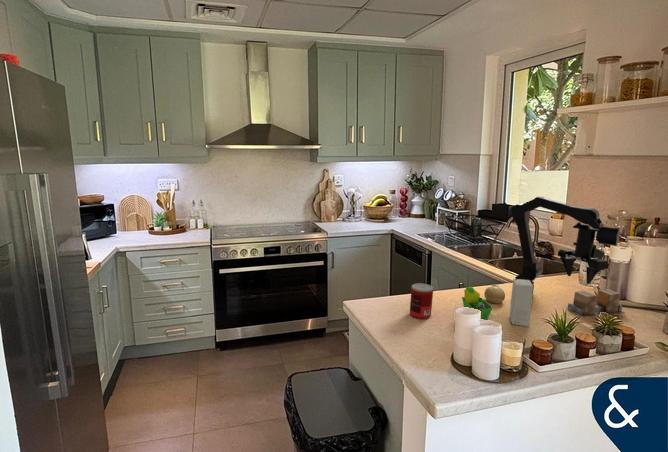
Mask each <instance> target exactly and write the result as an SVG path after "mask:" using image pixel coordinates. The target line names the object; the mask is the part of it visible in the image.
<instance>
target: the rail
mask: <svg viewBox="0 0 668 452" xmlns="http://www.w3.org/2000/svg"><path fill="white" fill-rule="evenodd" d="M564 309H567V310H569V311H570V312H572V313H575V314H577V315H579V316H582V317H584V318H585V317H586V318H587V317H596V316H600V315H599V314H600V312H606V313H608V314H607V315H616V314H625V313H626V312H625V311H622V310H623V304H621V303H619V307H618V311H613V312H607V311H606V306H603V305H596V308H595V313H593V314H583V313H584V309H583V308H581V307H579V306H577V305H574V304H573V303H572V302H568V304H567V307H564Z"/></svg>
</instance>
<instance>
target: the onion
mask: <svg viewBox="0 0 668 452" xmlns="http://www.w3.org/2000/svg"><path fill="white" fill-rule="evenodd" d="M483 294H484V298H485V299H486V302H489V303H491V304H501V303H502V302H504V301H505V298H506V293H505V291H504V289H503V288H501V287H500V286H499V285H498V284H495V283H491V286H488V287H487V288H486V289H485V290H484V293H483Z"/></svg>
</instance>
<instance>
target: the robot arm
mask: <svg viewBox="0 0 668 452" xmlns="http://www.w3.org/2000/svg"><path fill="white" fill-rule="evenodd" d="M539 208H542V209H546V210H548V211H549V210H550V211H552V212H556V213H558V214H563V215H566V216H569V217H571V218H572V219H574V220H575V221H578V222H577V223H575V225H573V226H572V229H577V230H578V231H577V234H576V235H577V237H576V241H574V242H573V244H572V245H573V246H575V247H574V248H575V249H574V250H573V249H570V248H560V249H559V250H558V251H557V257H559V259H560V260H561V263H562V264H563V266H564V269H565V273H566V275H567V277H571V275H572V273H573V268H574V263H575V262H576V261H577V260H578V261H581V262H584V263H586V264H587V266H586V267H585V268H586V269H585V270H586V273H585V274H586V277H585V278H586V284H587V285H589V284H591V282H592V281H593V279H594V278H595V277H596V275H598V273H599V272H600V271H604V270H607V269H609V268H610V267H609V265H610V263H609V261H607V260H606V259H603V258H604V256H605V254H606V252H604V251H601V250H599V248H597V245H596V244H594V243H595V240H596V242H598V244H601V245H607V246H613V247H618V244H619V242H620V227H615V226H614V227H612V226H605V225H604V223H603V222H602V219H601V218H600V217H601V215H600V212H599V211H598V209H596V208H594V207H593V208H591V207H586V206H585V207H584V206H574V205H570V204H567V203H563V202H561V201H557V200H553V199H551V198H546V197H545V196H542V195H541V196H536V197H534V199H531V200H528V201H526V202H524V203H518V204H515V205H513V206H512V207H511V208H510V215H511V217H512V219H513V222H514V223H515V225H516V226H517V232H518V238H519V244H520V249H521V254H522V263H521V264H522V265H521V273H519V274H518V275H516V276H515V277H514V279H522V280H530V282H531V283H532V285H533V291H532V295H533V294H534V288H535V285H534V283H535V280H536V279H537V278H538V277H540V276H541V274H542V271H543V268H542V261H541V260H537V259H536V257H535V251H534V246H533V241H532V236H531V230H530V219H531V212H532V211H534V210H536V209H539Z"/></svg>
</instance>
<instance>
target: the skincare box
mask: <svg viewBox="0 0 668 452" xmlns="http://www.w3.org/2000/svg"><path fill="white" fill-rule="evenodd" d="M532 291H533V292H534V289H533V285H532V283H531V282H530V280H522V279H516V278H513V279H512V289H511V299H510V309H509V318H510V322H511V324H512V325H515V326H516V325H517V326H521V327H528V328H529V327H530V320H531V311H532V310H531V309H532V299H533V294H532Z"/></svg>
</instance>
